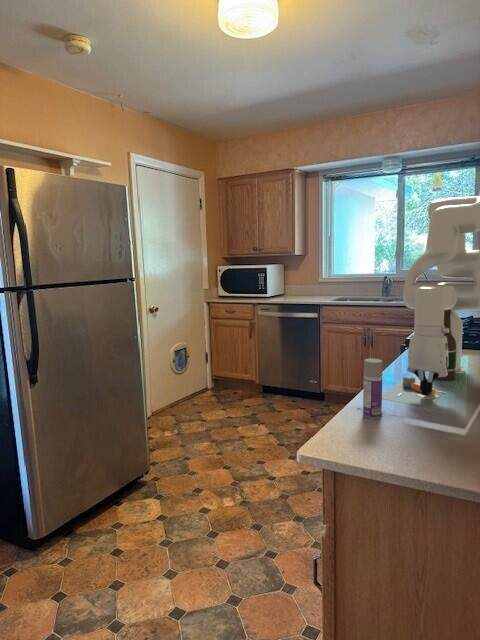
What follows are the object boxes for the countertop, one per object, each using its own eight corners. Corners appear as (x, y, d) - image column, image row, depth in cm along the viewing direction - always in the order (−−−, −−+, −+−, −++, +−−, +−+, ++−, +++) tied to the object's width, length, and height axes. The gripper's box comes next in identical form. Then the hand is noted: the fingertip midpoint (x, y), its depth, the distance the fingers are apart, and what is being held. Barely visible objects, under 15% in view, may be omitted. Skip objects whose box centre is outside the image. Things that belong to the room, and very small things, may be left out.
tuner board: (402, 383, 141) (402, 379, 141) (450, 390, 132) (451, 386, 132) (378, 402, 124) (378, 397, 124) (432, 412, 115) (432, 407, 115)
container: (381, 413, 115) (382, 358, 113) (381, 419, 111) (382, 363, 109) (363, 411, 117) (364, 357, 115) (362, 417, 112) (363, 362, 110)
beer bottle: (458, 385, 137) (462, 310, 134) (432, 384, 139) (435, 310, 135) (451, 378, 145) (454, 307, 141) (426, 377, 147) (429, 307, 143)
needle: (400, 385, 134) (400, 376, 134) (409, 383, 135) (409, 375, 135) (428, 396, 123) (428, 387, 123) (438, 395, 124) (438, 385, 124)
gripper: (460, 331, 119) (457, 395, 121) (405, 326, 128) (403, 386, 130) (454, 335, 113) (451, 402, 115) (397, 330, 122) (395, 392, 125)
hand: (425, 393), depth 123 cm, fingers closed
